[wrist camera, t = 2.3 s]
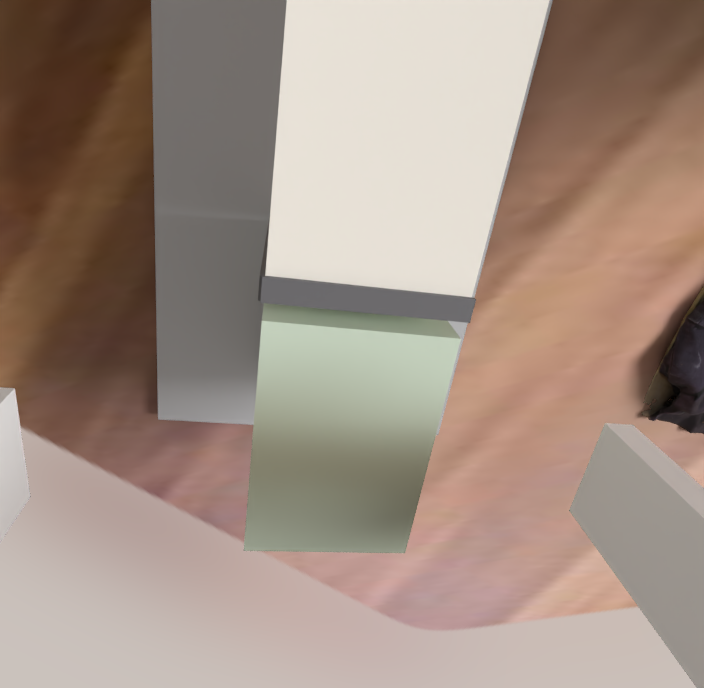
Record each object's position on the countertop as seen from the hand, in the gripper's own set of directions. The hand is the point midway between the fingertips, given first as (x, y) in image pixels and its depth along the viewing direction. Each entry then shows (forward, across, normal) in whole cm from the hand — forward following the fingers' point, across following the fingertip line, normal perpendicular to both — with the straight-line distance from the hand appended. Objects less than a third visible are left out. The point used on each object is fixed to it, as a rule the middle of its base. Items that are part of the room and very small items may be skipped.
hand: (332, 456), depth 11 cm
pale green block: (+8, 0, 0) cm, 8 cm away
